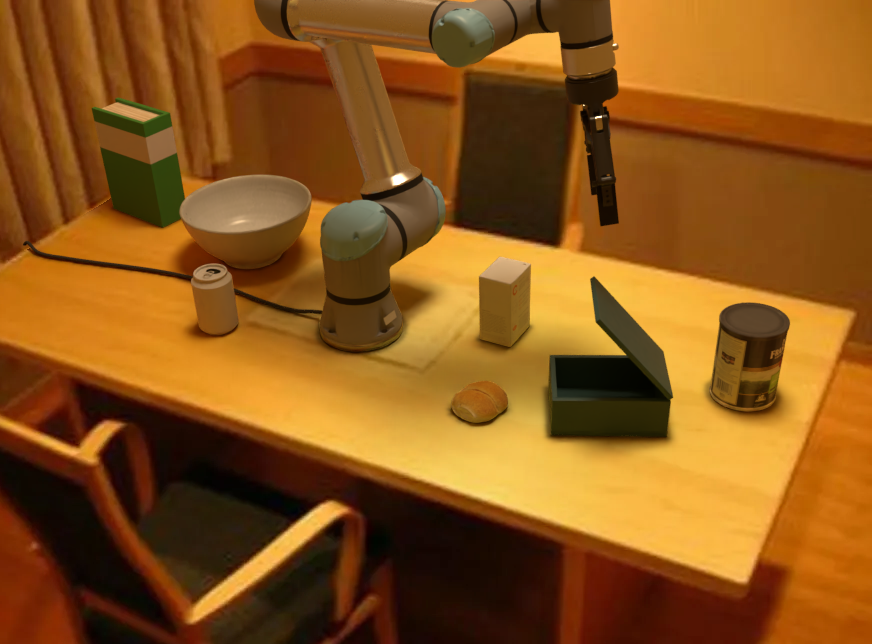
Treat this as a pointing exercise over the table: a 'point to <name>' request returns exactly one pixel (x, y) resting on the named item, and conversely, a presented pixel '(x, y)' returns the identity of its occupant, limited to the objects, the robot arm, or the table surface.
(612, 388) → the box
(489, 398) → the bread roll
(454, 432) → the table surface
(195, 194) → the decorative bowl
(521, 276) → the small box
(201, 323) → the can
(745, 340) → the coffee can
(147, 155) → the hardback book
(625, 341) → the lunchbox lid
